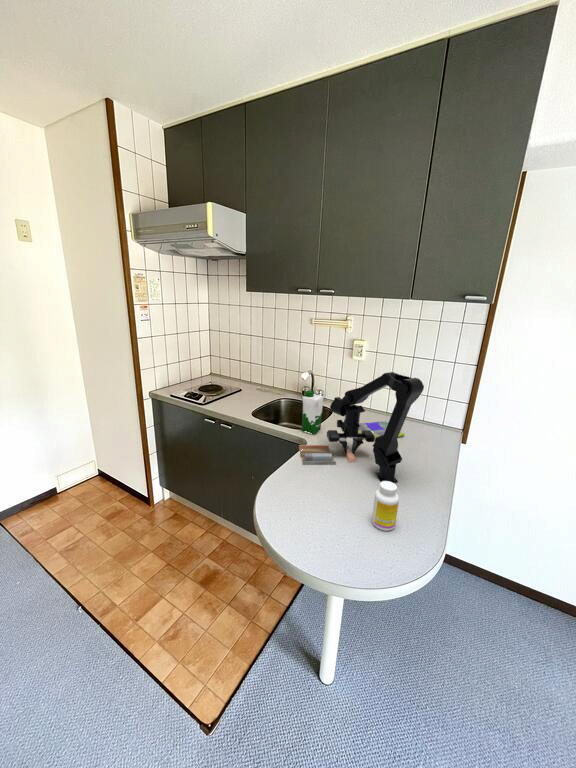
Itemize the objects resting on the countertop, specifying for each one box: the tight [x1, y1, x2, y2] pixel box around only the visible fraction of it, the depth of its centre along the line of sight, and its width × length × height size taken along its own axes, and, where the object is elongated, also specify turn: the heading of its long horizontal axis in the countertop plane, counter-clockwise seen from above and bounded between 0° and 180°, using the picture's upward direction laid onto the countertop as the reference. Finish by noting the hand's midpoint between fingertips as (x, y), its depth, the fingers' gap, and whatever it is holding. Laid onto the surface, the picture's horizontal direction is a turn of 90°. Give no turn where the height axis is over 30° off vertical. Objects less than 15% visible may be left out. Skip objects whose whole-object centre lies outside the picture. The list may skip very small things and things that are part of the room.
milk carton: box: [301, 390, 325, 435], centre depth 152 cm, size 9×9×20 cm
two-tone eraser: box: [342, 445, 356, 464], centre depth 130 cm, size 11×2×2 cm, turn 4°
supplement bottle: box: [371, 481, 400, 532], centre depth 91 cm, size 7×7×13 cm
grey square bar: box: [304, 453, 334, 461], centre depth 125 cm, size 11×2×2 cm, turn 94°
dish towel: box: [358, 420, 405, 441], centre depth 157 cm, size 18×24×3 cm
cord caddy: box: [298, 444, 337, 466], centre depth 129 cm, size 15×13×2 cm
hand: (348, 454), depth 131 cm, fingers closed on two-tone eraser, 2 cm apart
